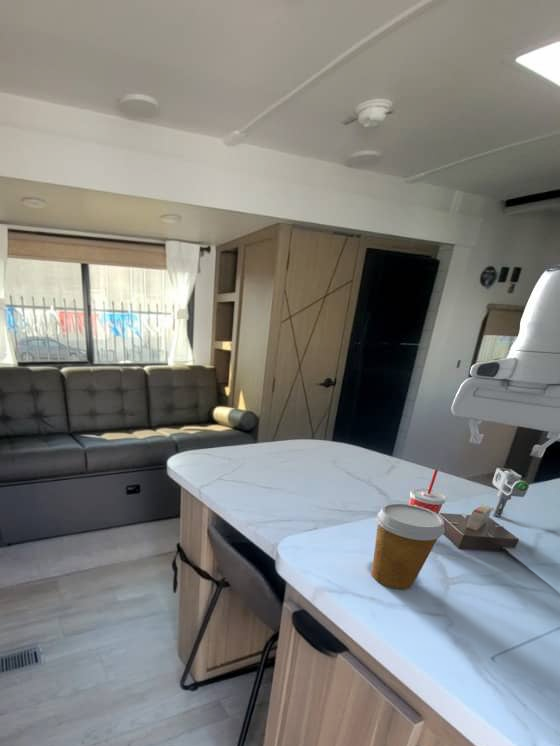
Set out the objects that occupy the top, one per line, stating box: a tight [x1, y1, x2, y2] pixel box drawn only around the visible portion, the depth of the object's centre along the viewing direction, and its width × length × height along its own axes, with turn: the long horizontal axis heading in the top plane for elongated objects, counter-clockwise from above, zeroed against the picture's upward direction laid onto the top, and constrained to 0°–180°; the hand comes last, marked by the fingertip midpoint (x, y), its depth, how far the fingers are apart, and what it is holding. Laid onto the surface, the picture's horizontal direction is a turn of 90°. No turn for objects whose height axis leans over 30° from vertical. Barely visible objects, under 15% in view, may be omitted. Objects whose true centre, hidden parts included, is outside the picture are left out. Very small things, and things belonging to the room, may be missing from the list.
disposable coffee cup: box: [371, 502, 445, 590], centre depth 65 cm, size 10×10×12 cm
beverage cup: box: [408, 469, 448, 514], centre depth 80 cm, size 6×6×14 cm
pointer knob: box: [466, 503, 494, 531], centre depth 80 cm, size 6×2×4 cm, turn 129°
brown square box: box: [438, 512, 520, 553], centre depth 81 cm, size 10×10×3 cm
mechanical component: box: [491, 467, 530, 518], centre depth 90 cm, size 3×10×10 cm, turn 166°
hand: (503, 449), depth 74 cm, fingers open, 8 cm apart
